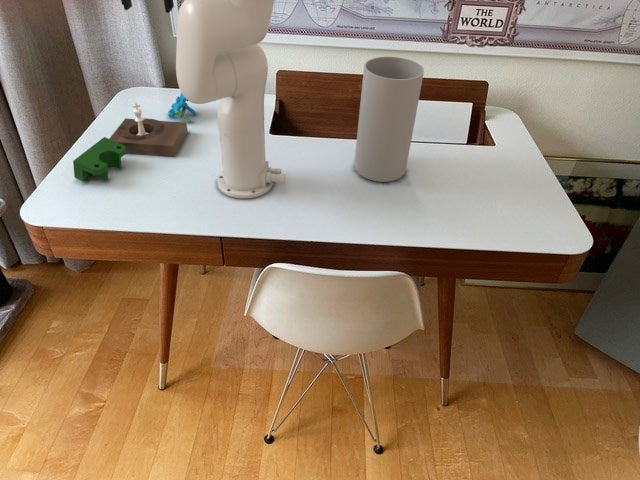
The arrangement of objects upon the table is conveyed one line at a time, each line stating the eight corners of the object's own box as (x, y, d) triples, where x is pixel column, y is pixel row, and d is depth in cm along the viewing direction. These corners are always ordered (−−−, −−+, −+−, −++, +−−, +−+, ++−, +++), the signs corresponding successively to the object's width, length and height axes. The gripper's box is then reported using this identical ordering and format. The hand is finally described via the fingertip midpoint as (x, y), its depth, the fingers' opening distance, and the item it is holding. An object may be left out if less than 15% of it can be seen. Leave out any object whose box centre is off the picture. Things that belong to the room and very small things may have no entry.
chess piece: (154, 142, 123) (147, 105, 117) (134, 145, 122) (125, 108, 115) (152, 133, 127) (145, 97, 120) (132, 136, 125) (124, 99, 119)
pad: (188, 131, 128) (187, 121, 126) (174, 156, 119) (172, 145, 117) (128, 127, 129) (126, 116, 127) (109, 152, 119) (106, 141, 117)
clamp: (104, 197, 112) (93, 178, 104) (81, 187, 112) (68, 167, 104) (132, 157, 117) (123, 135, 109) (109, 148, 117) (99, 125, 109)
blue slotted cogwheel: (170, 100, 138) (191, 78, 133) (187, 113, 141) (209, 92, 136) (161, 123, 131) (184, 101, 125) (180, 136, 134) (202, 116, 129)
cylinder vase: (388, 189, 112) (405, 85, 95) (343, 170, 117) (352, 68, 101) (414, 167, 120) (434, 67, 103) (371, 150, 125) (384, 52, 109)
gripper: (85, -77, 100) (105, 12, 111) (168, -71, 100) (180, 17, 111) (100, -82, 106) (118, 2, 117) (179, -77, 105) (189, 7, 117)
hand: (148, 9), depth 114 cm, fingers open, 9 cm apart
